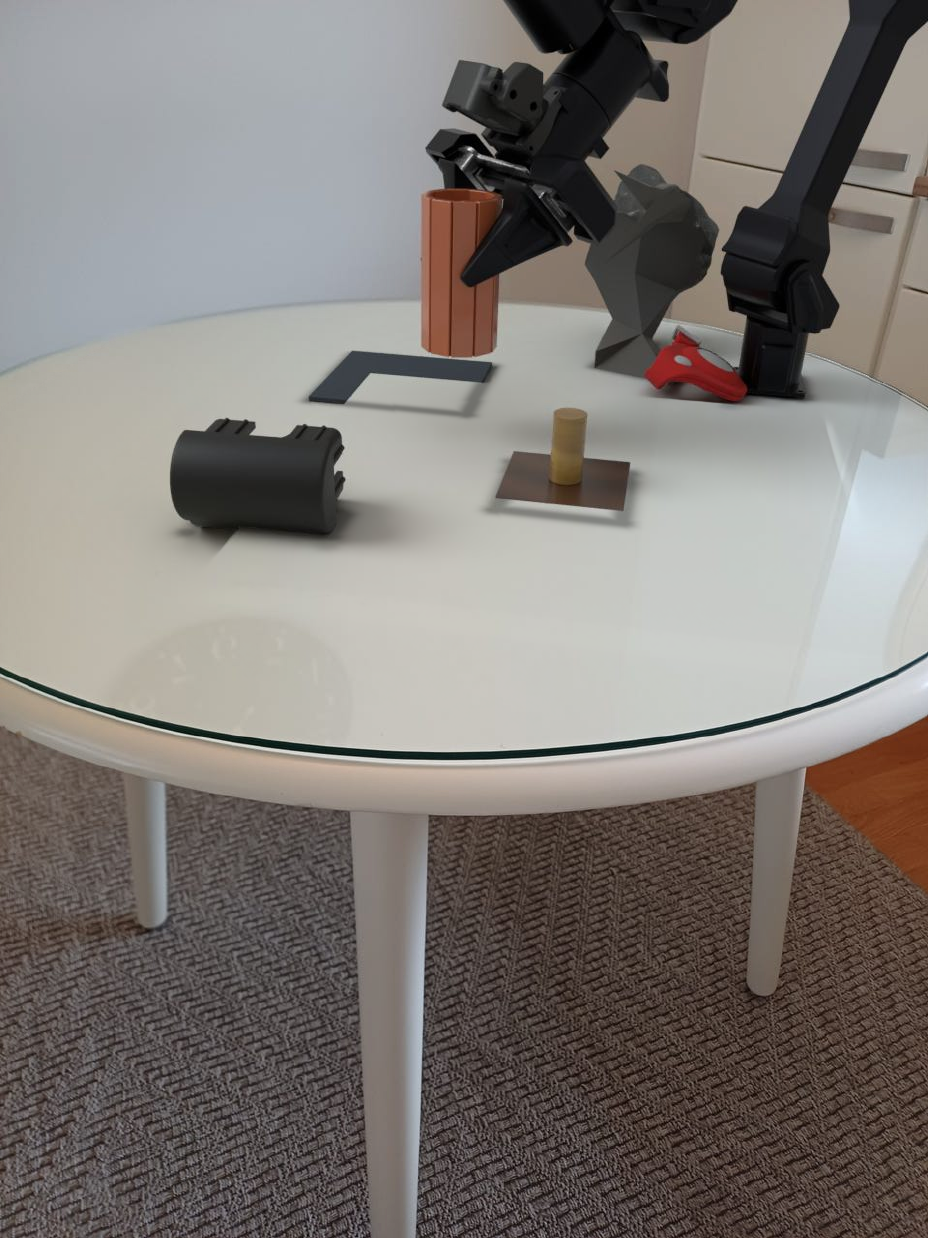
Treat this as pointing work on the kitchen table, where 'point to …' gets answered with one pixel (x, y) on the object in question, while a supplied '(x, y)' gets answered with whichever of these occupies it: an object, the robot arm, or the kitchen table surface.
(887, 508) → the kitchen table surface
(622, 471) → the ring holder
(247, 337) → the kitchen table surface
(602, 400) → the kitchen table surface
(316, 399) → the flat corner bracket
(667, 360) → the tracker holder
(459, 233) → the orange tube
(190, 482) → the end cap
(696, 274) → the grey angular chunk
